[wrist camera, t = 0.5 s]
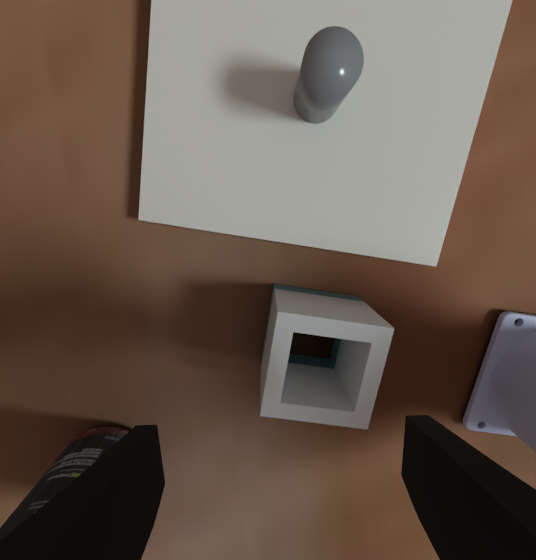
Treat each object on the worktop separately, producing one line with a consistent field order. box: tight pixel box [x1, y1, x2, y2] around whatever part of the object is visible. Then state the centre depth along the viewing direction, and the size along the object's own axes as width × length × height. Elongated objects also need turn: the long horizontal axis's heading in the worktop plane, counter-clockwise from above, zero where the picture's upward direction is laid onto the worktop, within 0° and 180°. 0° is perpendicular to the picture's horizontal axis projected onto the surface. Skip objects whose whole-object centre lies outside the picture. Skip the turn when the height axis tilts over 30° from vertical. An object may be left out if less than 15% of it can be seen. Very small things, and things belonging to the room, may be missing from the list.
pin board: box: [138, 0, 512, 266], centre depth 13 cm, size 16×14×4 cm
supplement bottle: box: [0, 426, 130, 540], centre depth 14 cm, size 6×6×11 cm
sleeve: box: [260, 284, 395, 430], centre depth 15 cm, size 5×5×5 cm
